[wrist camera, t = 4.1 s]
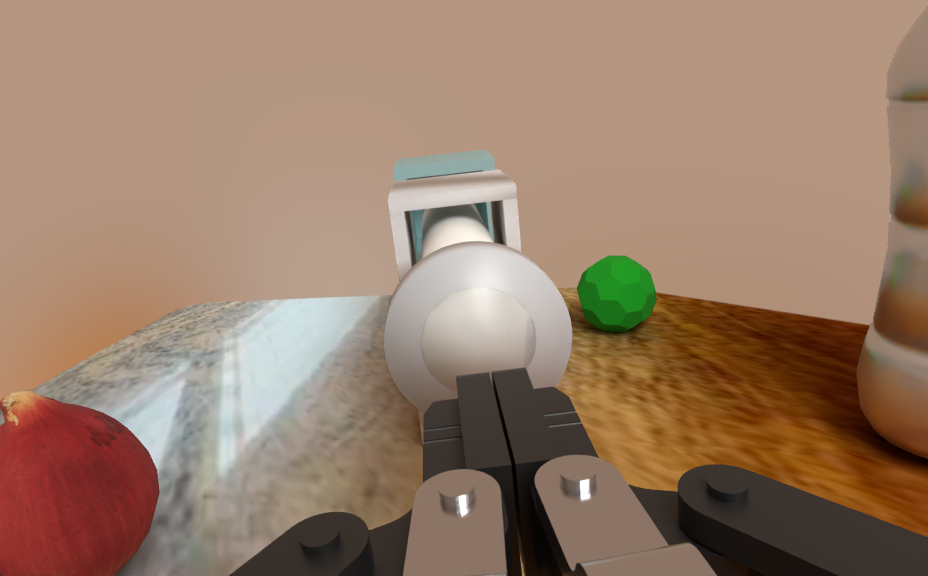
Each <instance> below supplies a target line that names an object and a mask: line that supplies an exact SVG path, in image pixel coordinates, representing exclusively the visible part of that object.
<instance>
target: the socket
mask: <svg viewBox="0 0 928 576" xmlns="http://www.w3.org/2000/svg"><path fill="white" fill-rule="evenodd" d="M491 170H495V164H494V157H493V156H492V155H491V154H489V153H488V152H487V151H485V150H477V151H468V152H460V153H451V154H441V155H432V156H424V157H415V158H406V159H398V160H397V162H396V163H395V165H394V167H393V171H394V178H395V181H402V180H411V179H420V178H429V177H438V176H446V175H455V174H464V173H473V172H482V171H491ZM473 204H474V205H475V206H476V208H477V210H478V212H479V214H480V216H481V218H482V220H483V222H484V224H485V226H486V228H487V230H488V232H489V234H490V236H491V238H492V240H493V242H494V236H493V225H492V214H491V203H490V202H481V203H473ZM410 212H411V220H412V227H413V235H414V243H415V250H416V258H417V262H419V261H420V260H421V259H422V227H423V215H424V212H425V209H420V210H412V211H410Z"/></svg>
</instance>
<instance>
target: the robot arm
mask: <svg viewBox="0 0 928 576" xmlns="http://www.w3.org/2000/svg"><path fill="white" fill-rule="evenodd" d="M456 384H457V393H458V398H457V399H449V400H441V401H433V403H432V404H431V405H430V407H429V408H428V409H427V411H426V412H425V413H424V415H423V430H424V432H423V443H424V444H423V484H422V485H421V486H420V487H419V488H418V490H417V492H416V494H415V497H414V503H413V509H411V510H410V511H409V512H408V513H407V514H405V515H404V516H402V517H401V518H399V519H397V520H395V521H393V522H391V523H388V524H386V525H383V526H380V527H378V528H375V529H372V530H368V527H367V525H366V524H365V522H364V521H363V520H362V519H361V518H359V517H357V516H356V515H353V514H350V513H345V512H329V513H323V514H319V515H315V516H312V517H310V518H307V519H305V520H303V521H301V522H299V523H297V524H296V525H294V526H293V527H291V528H290V529H289V530H287V531H286V532H285V533H284V534H282V535H281V536H280V537H278V538H277V539H276V540H275V541H273V542H272V543H271V544H269V545H268V546H267V547H265V548H264V549H263V550H262V551H260V552H259V553H258V554H256V555H255V556H254V557H253V558H251V559H250V560H249V561H247V562H246V563H245V564H243V565H242V566H241V567H240V568H238V569H237V570H236V571H234V572H233V573H232V574H231V575H229V576H522V572H521V561H520V554H521V559H522V564H523V569H524V573H525V576H928V537H925V536H923V535H920V534H917V533H915V532H912V531H909V530H907V529H904V528H901V527H899V526H896V525H893V524H891V523H888V522H885V521H882V520H880V519H877V518H874V517H872V516H869V515H866V514H864V513H861V512H858V511H856V510H853V509H850V508H848V507H845V506H842V505H840V504H837V503H834V502H832V501H829V500H826V499H824V498H821V497H818V496H816V495H813V494H810V493H808V492H805V491H802V490H800V489H797V488H794V487H792V486H789V485H786V484H784V483H781V482H778V481H776V480H773V479H770V478H768V477H765V476H762V475H759V474H757V473H754V472H751V471H749V470H746V469H743V468H739V467H735V466H729V465H716V464H715V465H704V466H699V467H696V468H693V469H691V470H689V471H687V472H686V473H684V474H683V475H682V477H681V478H680V480H679V482H678V492H674V491H662V490H651V489H644V488H639V487H635V486H632V485H629V484H627V482H626V481H625V479H624V478H623V476H622V475H621V473H620V472H619V471H618V469H617V468H616V467H614V466H613V465H612V464H610V463H609V462H607V461H605V460H603V459H600V458H599V457H598V455H597V453H596V451H595V449H594V447H593V445H592V443H591V441H590V439H589V437H588V435H587V433H586V431H585V429H584V427H583V425H582V424H581V421H580V419H579V417H578V415H577V413H576V412H575V408H574V406H573V404H572V402H571V400H570V398H569V397H568V396H567V395H565V394H564V393H562V392H561V391H559V390H558V389H556V388H555V387H545V388H537V389H534V388H533V385H532V383H531V380H530V377H529V375H528V372H527V370H526V368H525V367H522V368H514V369H506V370H498V371H492V382H491V378H490V373H489V372H482V373H474V374H466V375H458V376H456Z"/></svg>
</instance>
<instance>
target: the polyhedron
mask: <svg viewBox="0 0 928 576" xmlns="http://www.w3.org/2000/svg"><path fill="white" fill-rule="evenodd" d="M577 291H578V295H579V298H580V302H581V306H582V310H583V314H584V317H585V318H586V319H587V320H588V321H589V322H591V323H592V324H593V325H594V326H596V327H597V328H599V329H602V330H604V331H607V332H625V331H627V330H629V329H631V328H632V327H634V326H636V325H637V324H639V323H640V322H642V321H643V320H645V319H646V318H648V317H649V316H650V315H651V313H652V310H653V308H654V305H655V303H656V291H655V287H654V284H653V280H652V277H651V274H650V273H649V271H648V270H647V269H645V268H644V267H643V266H641V265H640V264H639V263H637V262H636V261H634V260H632V259H630V258H628V257H626V256H607V257H605V258H603V259H601V260H600V261H598V262H597V263H596V264H594V265H592V266H591V267H590V268H588V269H587V270H586V271H585V272H584V273H583V274H582V276H581V279H580V281H579V284H578V287H577Z"/></svg>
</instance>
